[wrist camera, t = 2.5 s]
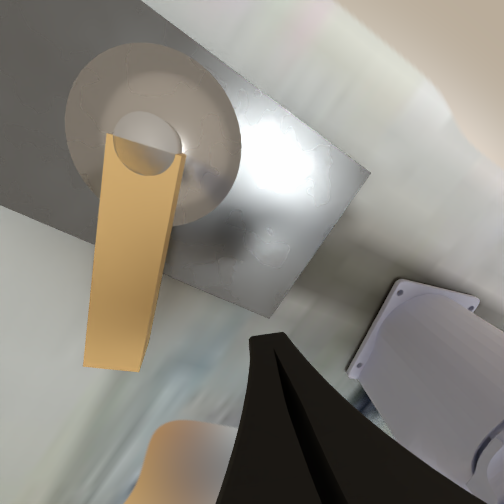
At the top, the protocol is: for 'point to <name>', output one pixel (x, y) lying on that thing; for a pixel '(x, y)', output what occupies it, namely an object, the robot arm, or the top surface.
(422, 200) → the top surface
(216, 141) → the silver metal slab
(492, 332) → the robot arm
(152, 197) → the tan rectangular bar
